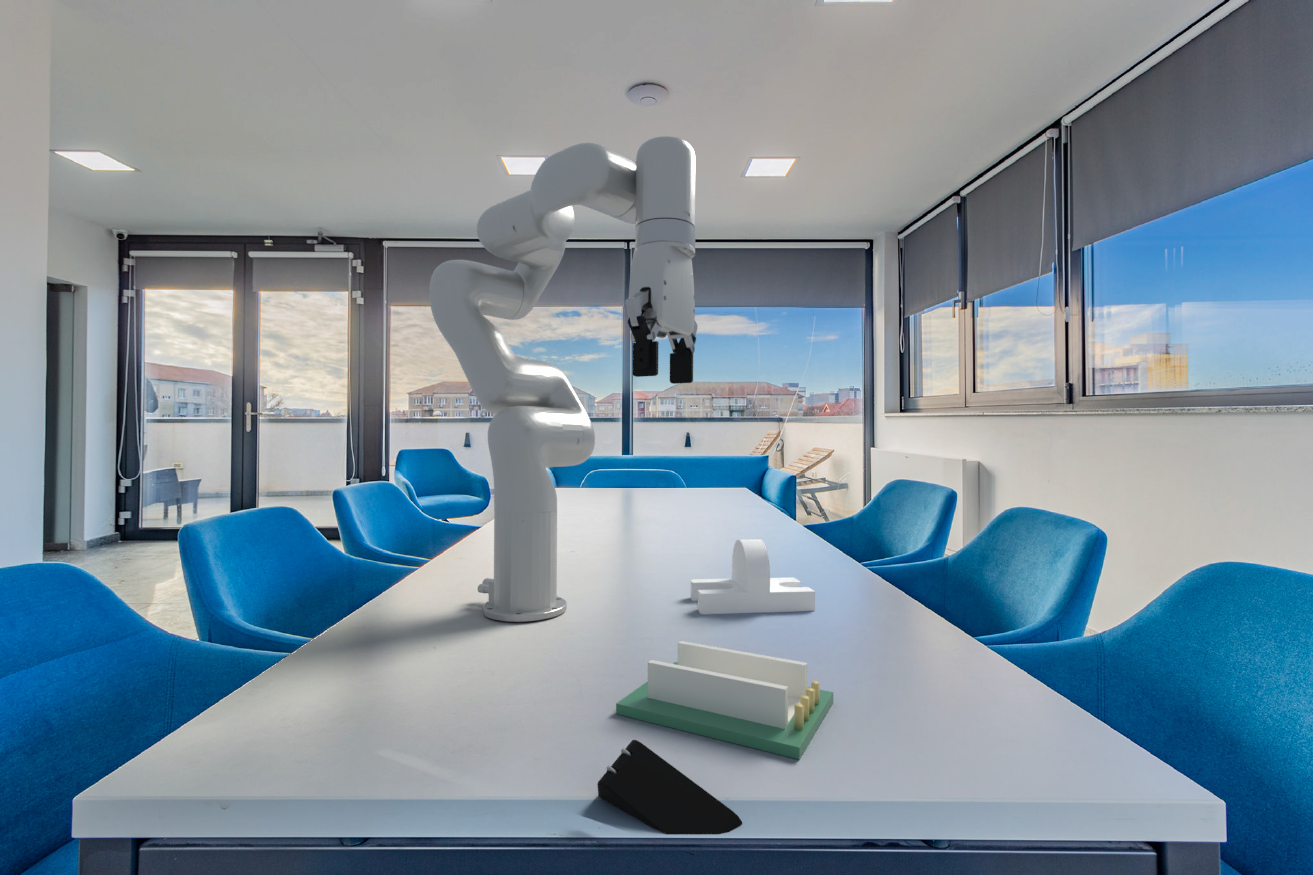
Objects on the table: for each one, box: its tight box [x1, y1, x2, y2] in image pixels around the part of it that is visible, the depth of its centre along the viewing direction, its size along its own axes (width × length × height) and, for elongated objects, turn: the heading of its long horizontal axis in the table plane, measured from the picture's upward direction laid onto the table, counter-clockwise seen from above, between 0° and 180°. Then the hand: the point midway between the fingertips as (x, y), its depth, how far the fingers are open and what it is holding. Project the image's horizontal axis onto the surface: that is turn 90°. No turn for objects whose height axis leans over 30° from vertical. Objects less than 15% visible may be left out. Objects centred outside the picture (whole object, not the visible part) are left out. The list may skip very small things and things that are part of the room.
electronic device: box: [596, 739, 743, 856], centre depth 47 cm, size 4×10×10 cm
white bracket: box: [690, 538, 816, 615], centre depth 100 cm, size 18×10×11 cm, turn 96°
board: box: [615, 640, 834, 760], centre depth 62 cm, size 18×13×4 cm
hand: (664, 379), depth 78 cm, fingers open, 9 cm apart
